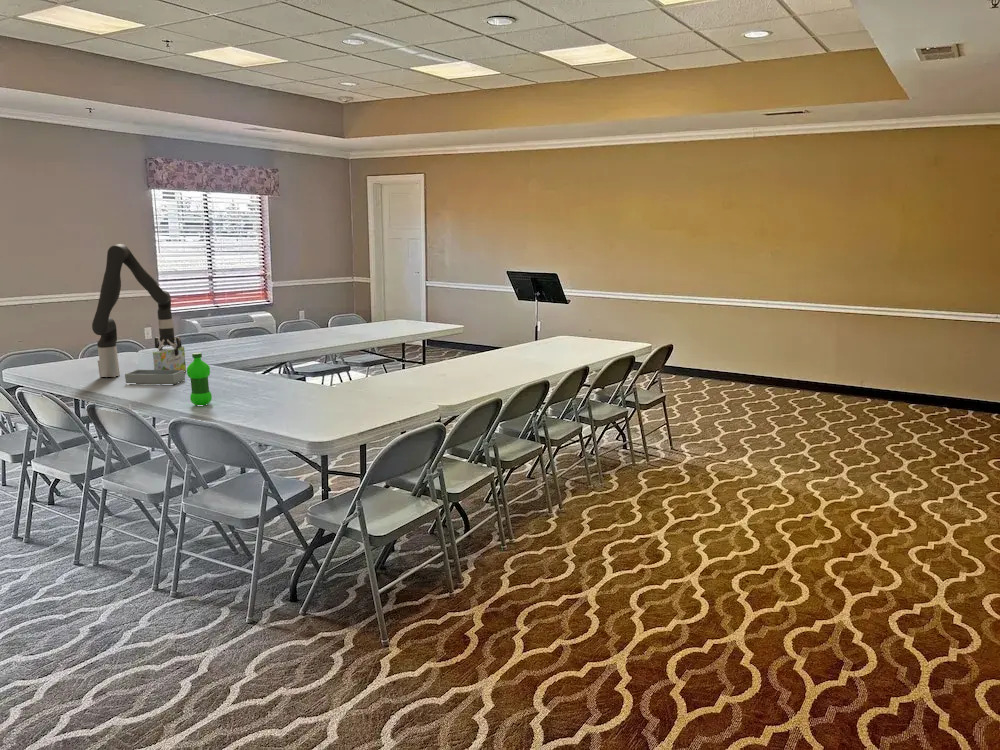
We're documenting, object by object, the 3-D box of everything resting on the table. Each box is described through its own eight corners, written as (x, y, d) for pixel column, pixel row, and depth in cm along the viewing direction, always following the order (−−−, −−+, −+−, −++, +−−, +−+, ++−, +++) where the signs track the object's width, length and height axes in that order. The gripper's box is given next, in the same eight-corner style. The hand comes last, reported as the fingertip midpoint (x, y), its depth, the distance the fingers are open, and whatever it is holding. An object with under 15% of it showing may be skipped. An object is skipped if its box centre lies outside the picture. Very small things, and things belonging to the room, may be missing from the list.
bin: (126, 384, 394) (124, 374, 393) (138, 379, 405) (137, 369, 404) (174, 385, 392) (173, 374, 391) (185, 380, 403) (183, 370, 402)
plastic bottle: (194, 402, 356) (188, 351, 350) (216, 402, 356) (211, 351, 351) (186, 408, 346) (181, 355, 341) (209, 407, 347) (204, 355, 341)
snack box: (163, 379, 407) (160, 352, 403) (154, 379, 408) (151, 352, 404) (187, 371, 427) (184, 345, 424) (178, 371, 428) (175, 345, 425)
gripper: (150, 328, 408) (153, 356, 412) (174, 328, 407) (178, 356, 410) (157, 326, 415) (160, 354, 419) (181, 326, 414) (184, 354, 418)
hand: (169, 355), depth 415 cm, fingers open, 8 cm apart
